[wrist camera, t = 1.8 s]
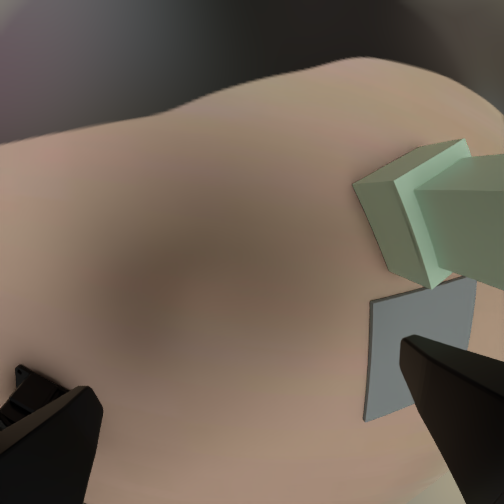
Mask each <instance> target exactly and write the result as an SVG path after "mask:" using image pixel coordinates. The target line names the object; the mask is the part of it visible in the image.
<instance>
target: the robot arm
mask: <svg viewBox="0 0 504 504" xmlns="http://www.w3.org/2000/svg"><path fill="white" fill-rule="evenodd" d="M399 366H400V370H401V372H402V375H403V377H404V379H405V381H406V384H407V386H408V388H409V391H410V393H411V396H412V398H413V400H414V403H415V405H416V407H417V410H418V412H419V414H420V416H421V418H422V419H423V421H424V423H425V425H426V426H427V428H428V430H429V432H430V434H431V436H432V437H433V439H434V441H435V443H436V445H437V447H438V449H439V450H440V452H441V454H442V456H443V458H444V460H445V462H446V464H447V466H448V468H449V470H450V472H451V474H452V476H453V478H454V480H455V482H456V484H457V486H458V488H459V490H460V492H461V494H462V496H463V498H464V500H465V502H466V504H504V362H503V361H500V360H496V359H493V358H490V357H486V356H483V355H480V354H476V353H473V352H470V351H467V350H463V349H460V348H457V347H454V346H451V345H447V344H444V343H441V342H438V341H435V340H432V339H429V338H426V337H422V336H419V335H416V334H413V335H410V336H407V337H404V338H402V340H401V343H400V357H399ZM15 374H16V388H17V389H16V390H15V391H14V392H13V393H12V394H11V396H10V397H9V399H8V400H7V401H6V403H5V404H4V405H3V406H2V407H1V408H0V504H83V502H84V497H85V493H86V489H87V485H88V481H89V477H90V473H91V469H92V465H93V462H94V458H95V454H96V449H97V444H98V438H99V433H100V427H101V422H102V417H103V407H102V405H101V403H100V401H99V400H98V398H97V396H96V394H95V393H94V391H93V389H92V388H91V387H89V386H78V387H76V388H74V389H73V390H71V391H69V390H66V389H64V388H62V387H60V386H58V385H56V384H54V383H52V382H50V381H48V380H46V379H45V378H43V377H41V376H39V375H37V374H35V373H34V372H32V371H30V370H28V369H26V368H25V367H23V366H21V365H18V366H17V367H16V368H15Z"/></svg>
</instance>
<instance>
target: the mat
mask: <svg viewBox="0 0 504 504" xmlns="http://www.w3.org/2000/svg"><path fill="white" fill-rule="evenodd" d="M476 285H477V281H476V280H474V279H471V278H468V277H465V276H462V277H459V278H455V279H452V280H449V281H445V282H442V283H440V284H438V285H437V286H436V287H435V288H434V289H432V290H431V289H429V288H426V287H424V288H420V289H417V290H413V291H409V292H405V293H402V294H398V295H394V296H390V297H386V298H382V299H378V300H373V301H370V333H369V356H368V372H367V385H366V396H365V406H364V415H363V420H364V422H368V421H371V420H374V419H377V418H379V417H382V416H385V415H387V414H390V413H392V412H395V411H398V410H400V409H402V408H405V407H407V406H410V405H412V404H414V400H413V398H412V396H411V393H410V391H409V388H408V386H407V384H406V381H405V379H404V377H403V375H402V372H401V370H400V366H399V357H400V343H401V340H402V338H404V337H407V336H410V335H413V334H416V335H419V336H422V337H426V338H429V339H432V340H435V341H438V342H441V343H444V344H447V345H451V346H454V347H457V348H460V349H463V350H467V348H468V343H469V338H470V332H471V326H472V319H473V312H474V305H475V296H476Z"/></svg>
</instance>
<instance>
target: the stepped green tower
mask: <svg viewBox="0 0 504 504" xmlns="http://www.w3.org/2000/svg"><path fill="white" fill-rule="evenodd" d="M352 186H353V188H354V190H355V192H356V194H357V196H358V198H359V201H360V203H361V205H362V207H363V209H364V212H365V214H366V216H367V218H368V221H369V223H370V225H371V228H372V230H373V232H374V235H375V237H376V240H377V242H378V244H379V247H380V249H381V252H382V254H383V257H384V260H385V262H386V265H387V267H388V270H389V271H390V272H392V273H395V274H397V275H399V276H401V277H404V278H406V279H408V280H411V281H413V282H415V283H417V284H420V285H422V286H424V287H426V288H429V289H431V290H432V289H434V288H435V287H436V286H437V285H438V284H440V283H441V282H442V281H443V280H444V279H446V278H447V277H448V276H449V275H450V274H451V273H453V272H454V273H457V274H460V275H462V276H465V277H468V278H471V279H474V280H476V281H479V282H482V283H485V284H488V285H490V286H493V287H496V288H498V289H501V290H504V154H499V155H487V156H476V157H472V156H471V154H470V151H469V148H468V146H467V143H466V140H465V138H463V139H458V140H452V141H447V142H442V143H437V144H431V145H427V146H422V147H418V148H416V149H415V150H413V151H411V152H409V153H407V154H406V155H404V156H402V157H400V158H398V159H397V160H395V161H393V162H391V163H389V164H387V165H386V166H384V167H382V168H380V169H379V170H377V171H375V172H373V173H371V174H370V175H368V176H366V177H364V178H362V179H361V180H359V181H357V182H355V183H353V184H352Z"/></svg>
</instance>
